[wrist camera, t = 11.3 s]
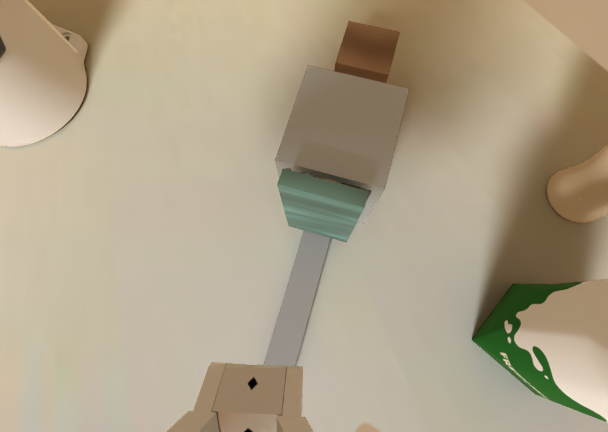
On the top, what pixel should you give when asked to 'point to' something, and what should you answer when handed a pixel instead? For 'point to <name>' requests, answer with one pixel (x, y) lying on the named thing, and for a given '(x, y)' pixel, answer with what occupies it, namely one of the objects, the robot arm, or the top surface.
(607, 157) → the beer glass
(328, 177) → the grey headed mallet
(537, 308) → the milk carton
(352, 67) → the walnut block
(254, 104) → the top surface
